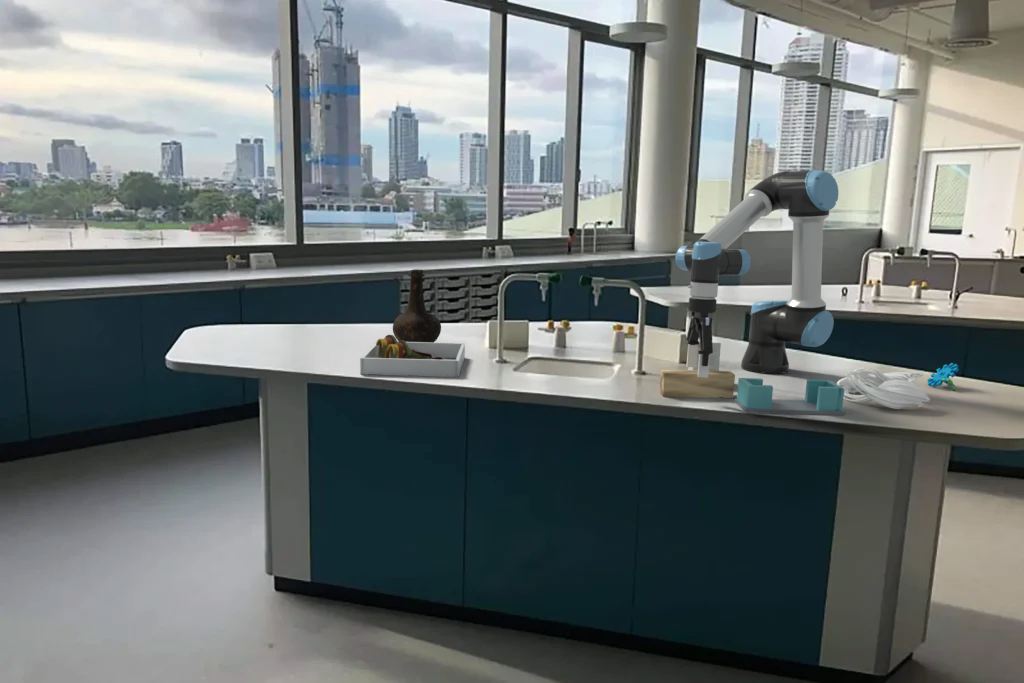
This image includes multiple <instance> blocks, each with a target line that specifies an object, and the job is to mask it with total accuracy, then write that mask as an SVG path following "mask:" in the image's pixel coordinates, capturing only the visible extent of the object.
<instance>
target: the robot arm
mask: <svg viewBox="0 0 1024 683" xmlns="http://www.w3.org/2000/svg"><path fill="white" fill-rule="evenodd" d="M838 200H839V185H838V183H837V181H836V178H835V177H834V175H832V173H830V172H828V171H825V170H817V169H816V170H814V169H813V170H793V171H791V170H783V171H780V172H777V173H773V174H772V175H770V176H768V177H766V178H764V179H763V180H761V181H760V182H758V183H757V184H755V185H754V186H753V187H752V188H750V189H749V190H748V191H747V192H746V193H745V195H744V199H743V200H742V201H741V202H740V203H739V204H737V205H736V206H734V208H732V210H730V211H729V212H728V213H727V214H726V215H725V216H723V218H722V219H720V220H719V221H718V222H717V223H716V224H714V226H712V228H710V229H709V230H708V231H707V232H705V234H703V235H702V236H701V237H700V238H699V239H698V240H697V241H696V242H694V243H693V244H692V245H691V244H690V245H689V244H687V245H682V246H680V247H679V248H678V249H677V251H676V253H675V264H676V266H677V267H678V268H679V269H680V270H683V271H687V272H690V284H688V289H689V296H691V297H689V298H688V311H690V320H689V325H688V330H687V331H688V332H687V335H686V338H685V340H686V342H687V354H686V356H687V357H686V368H688V367H696V364H697V352H698V345H699V341H700V350H701V351H699V352H698V354H699V365H698V377H705V378H708V372H709V360H710V354H711V353H713V345H712V339H713V327H712V326H713V325H712V324H713V318H712V317H709V314H712V313H715V312H716V311H717V299H716V298H717V297H718V294H719V293H718V292H719V277H722V276H725V277H726V276H729V277H730V276H733V277H737V276H742V275H745V274H747V272H748V271H749V270H750V268H751V264H752V262H751V260H752V259H751V256H750V254H749V252H748V251H746V250H744V249H740V248H729V247H730V246H731V245H732V244H733V243H734V242H735V241H736V240H737V239H738V238H739V237H741V236H742V235H744V233H745V232H746V231H747V230H748V229H750V227H752V226H753V225H755V223H756V222H757V221H759V219H760V218H761V217H767V216H769V215H770V214H771V213H772V212H774V211H778V210H788V212H787V213H788V214H787V217H788V218H789V219H790V220H791V221H792V223H793V224H792V226H793V227H792V264H791V265H792V267H791V268H792V270H791V297H790V299H789V300H761V301H755V302H754V303H753V304H752V305H751V311H750V314H749V315H750V320H749V336H748V345H747V346H746V350H745V352H744V354H743V356H742V359H741V362H740V363H741V365H740V367H741V369H743V370H746V371H749V372H753V371H756V372H755V373H759V372H764V373H763V374H771V373H778V374H784V373H783V372H786V373H788V372H789V370H790V363H789V359H788V354H787V351H786V343H791V344H796V345H801V346H803V347H813V348H817V347H820V346H822V345H823V344H825V343H826V342H827V340H828V339H829V338H830V337H831V334H832V332H833V329H834V323H835V322H834V321H835V319H834V316H833V314H832V313H831V312H830V311H829V310H827V308H826V307H827V304H826V302H825V300H823V298H822V275H823V274H822V272H823V271H822V270H823V247H824V246H823V243H824V241H823V240H824V221H825V220H826V219H827V218H828V217H829V215H830V211H831V210H833V209H834V208H835V207H836V205H837V202H838ZM698 339H699V341H698ZM695 344H696V345H695ZM787 371H788V372H787Z"/></svg>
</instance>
